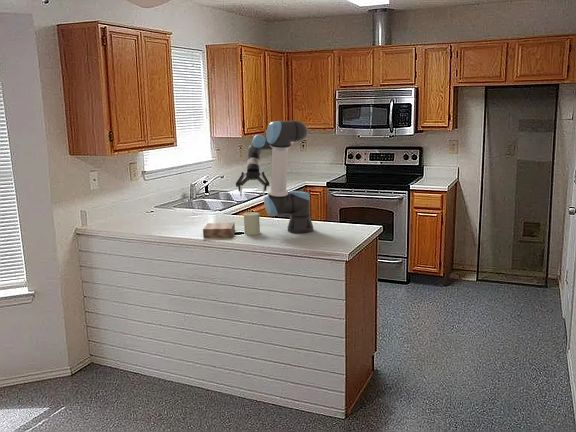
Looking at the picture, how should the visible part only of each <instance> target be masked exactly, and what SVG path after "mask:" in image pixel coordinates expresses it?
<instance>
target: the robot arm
mask: <svg viewBox="0 0 576 432" xmlns="http://www.w3.org/2000/svg"><path fill="white" fill-rule="evenodd" d="M266 128H267V129H266V133H265V136H266V137H265V136H264V135H261V134H256V135H255V136H253V138H252V141H251V144H250V145H248V148H247V162H246V163H247V167H246V172H243V171H242V172H241V175H240V176H239V178H238V179H237V181H236V182H235V186H236V187H238V189H237V190H238V192H239V197H240V198H241V197H242V195H243V186H244V185H245V184H246V183H247V182H249V181H256V180H257V181H258V182H259V183H260V184H261V185H262V196H263V197H264V199H263V202H264V203H263V204H264V208H265V211H266V213H267V215H268V216H270V217H278V216H284V215H289V220H288V224H287V232H289V233H292V234H306V233H312V232H313V231H314V224H313V222H312V219H311V197H310V193H308V192H306V191H302V190H290V191H289V192H288V190H287V182H288V181H287V176H288V161H289V159H288V156H289V149H290V148H292V144H294V143H300V142H302V141H304V140H306V139H307V137H308V135H309V129H308V126H307V125H306V124H305V123H304V122H302V121H300V120H277V121H276V120H275V121H271V122H270V123H269V124H268V125H267V127H266ZM263 151H272V152H271V153H272V154H271V156H272V157H271V179H270V181H271V182H269V179H268V178H267V176H266V175H265V171H262V172H260V166H261V162H260V159H261V154H262V152H263ZM261 177H262V178H261ZM267 187H270V189H269V191H267ZM265 192H267V195H266V196H265V194H266V193H265Z"/></svg>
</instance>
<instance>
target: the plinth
mask: <svg viewBox="0 0 576 432" xmlns="http://www.w3.org/2000/svg"><path fill="white" fill-rule="evenodd" d="M235 227H236V226H235V222H208V223H206V225H205V226H204V227H203V228H202V234H203V235H202V236H203V239H210V238H212V239H213V238H215V239H216V238H219V239H220V238H232V237H233V235H234V234H233V233H235V231H236V228H235Z"/></svg>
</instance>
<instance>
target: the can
mask: <svg viewBox="0 0 576 432" xmlns="http://www.w3.org/2000/svg"><path fill="white" fill-rule="evenodd" d="M243 225H244V235H247V236H256V235H259V234H260V235H261V226H260V213H259V212H256V211H255V212H253V211H251V212H244V213H243Z"/></svg>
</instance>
